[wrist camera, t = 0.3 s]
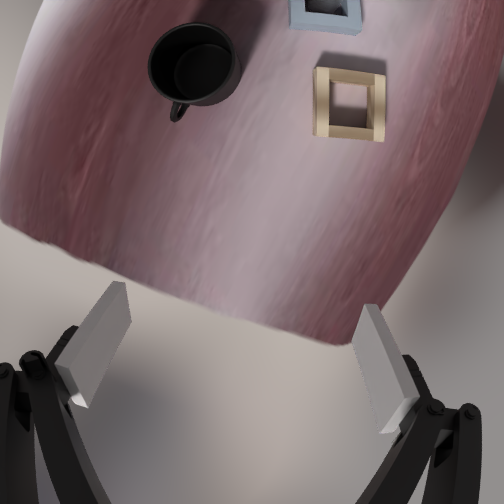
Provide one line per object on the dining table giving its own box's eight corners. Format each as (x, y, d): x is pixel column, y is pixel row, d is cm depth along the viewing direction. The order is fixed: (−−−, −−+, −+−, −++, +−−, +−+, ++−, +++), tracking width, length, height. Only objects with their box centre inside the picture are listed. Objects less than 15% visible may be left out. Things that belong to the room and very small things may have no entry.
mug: (153, 110, 36) (125, 109, 28) (188, 33, 31) (169, 13, 23) (215, 134, 37) (202, 138, 29) (253, 55, 33) (251, 37, 24)
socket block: (287, -23, 27) (288, -32, 24) (351, -16, 27) (357, -24, 24) (289, 29, 31) (291, 22, 28) (355, 35, 30) (362, 30, 28)
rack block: (312, 70, 33) (316, 66, 30) (377, 78, 33) (385, 75, 30) (312, 134, 37) (316, 136, 34) (375, 140, 37) (383, 142, 34)
